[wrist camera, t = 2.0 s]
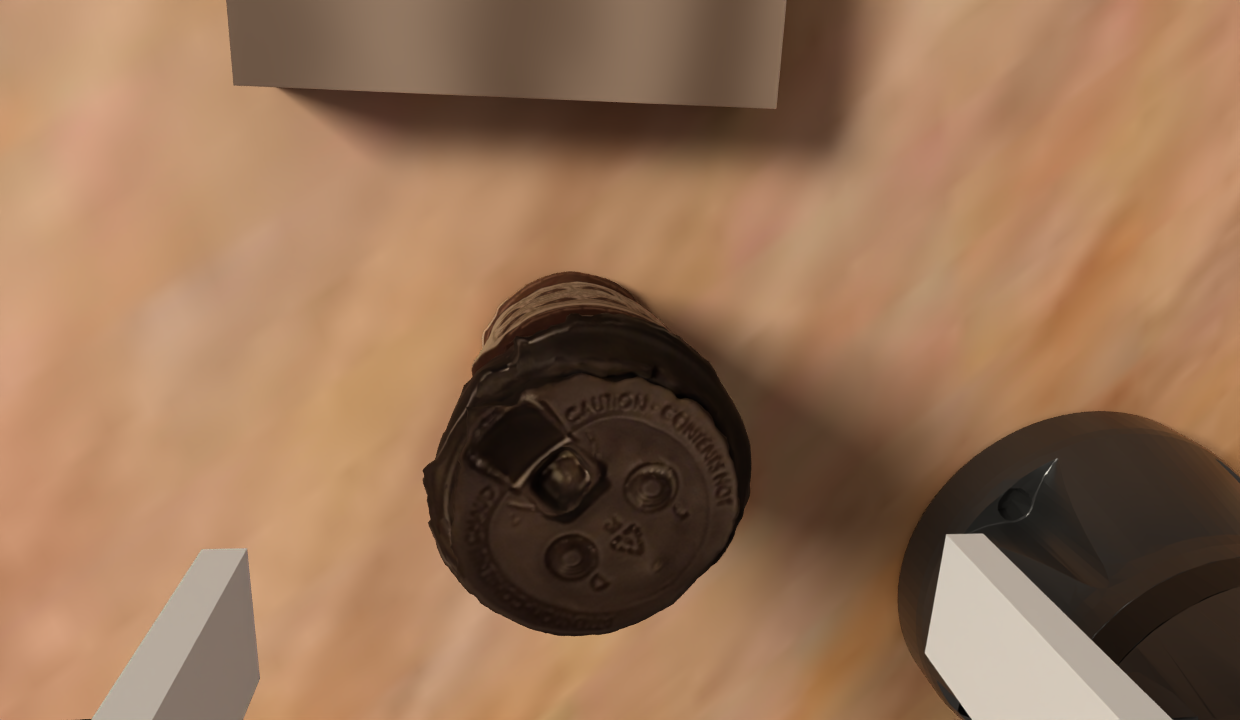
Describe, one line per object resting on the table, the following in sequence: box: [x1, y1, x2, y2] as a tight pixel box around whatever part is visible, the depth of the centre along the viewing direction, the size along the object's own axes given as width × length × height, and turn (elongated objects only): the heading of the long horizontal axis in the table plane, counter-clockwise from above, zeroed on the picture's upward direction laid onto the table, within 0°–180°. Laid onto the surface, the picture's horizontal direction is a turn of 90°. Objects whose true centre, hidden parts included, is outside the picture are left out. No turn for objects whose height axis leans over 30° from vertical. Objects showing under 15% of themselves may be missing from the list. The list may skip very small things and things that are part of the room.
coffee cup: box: [423, 271, 751, 636], centre depth 27 cm, size 9×8×13 cm
